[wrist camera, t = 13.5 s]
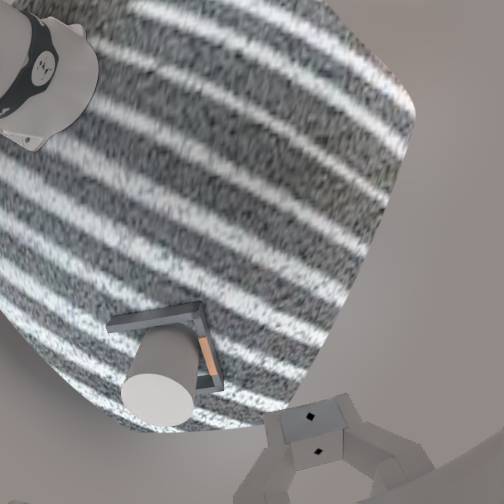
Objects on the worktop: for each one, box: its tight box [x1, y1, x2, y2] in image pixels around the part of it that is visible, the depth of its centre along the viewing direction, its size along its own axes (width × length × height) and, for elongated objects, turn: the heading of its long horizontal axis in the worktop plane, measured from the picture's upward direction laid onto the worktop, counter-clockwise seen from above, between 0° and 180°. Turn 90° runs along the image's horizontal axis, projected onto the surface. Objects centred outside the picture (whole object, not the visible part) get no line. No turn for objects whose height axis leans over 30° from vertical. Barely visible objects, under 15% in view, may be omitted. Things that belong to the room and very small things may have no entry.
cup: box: [121, 322, 200, 426], centre depth 35 cm, size 8×8×12 cm
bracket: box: [106, 301, 224, 395], centre depth 39 cm, size 13×13×4 cm
